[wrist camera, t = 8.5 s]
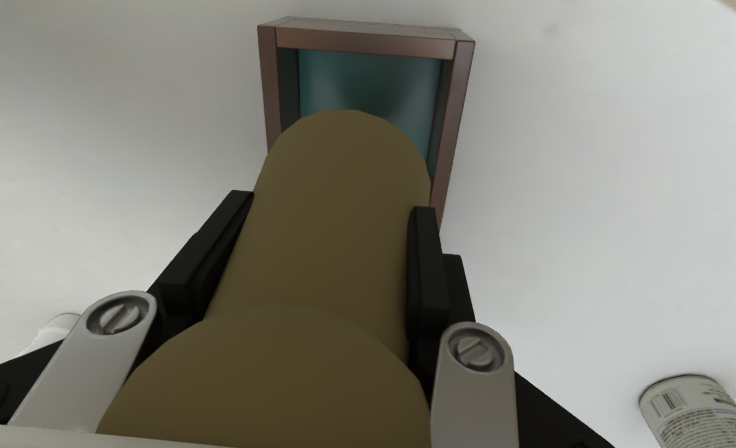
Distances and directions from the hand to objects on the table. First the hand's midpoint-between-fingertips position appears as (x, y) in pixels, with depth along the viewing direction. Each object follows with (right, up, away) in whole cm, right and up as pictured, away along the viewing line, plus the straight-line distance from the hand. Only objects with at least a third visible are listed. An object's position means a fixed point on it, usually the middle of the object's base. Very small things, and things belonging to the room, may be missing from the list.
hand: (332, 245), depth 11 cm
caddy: (+1, +4, +14) cm, 14 cm away
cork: (0, +2, +3) cm, 3 cm away
